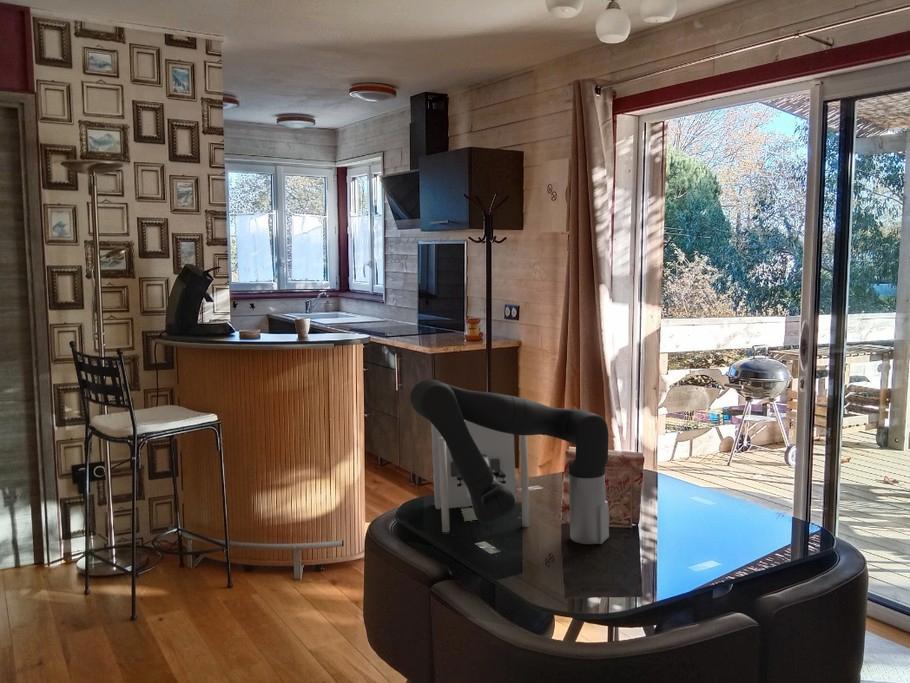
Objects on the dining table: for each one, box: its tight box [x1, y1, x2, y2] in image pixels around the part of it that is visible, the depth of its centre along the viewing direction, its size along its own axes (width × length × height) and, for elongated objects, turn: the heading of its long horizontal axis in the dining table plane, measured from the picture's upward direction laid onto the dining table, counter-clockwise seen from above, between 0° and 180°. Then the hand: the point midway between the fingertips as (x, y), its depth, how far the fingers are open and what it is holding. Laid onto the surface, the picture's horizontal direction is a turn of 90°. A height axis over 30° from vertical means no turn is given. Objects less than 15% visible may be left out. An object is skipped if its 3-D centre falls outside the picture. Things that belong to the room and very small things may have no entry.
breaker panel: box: [430, 420, 517, 510], centre depth 233 cm, size 7×24×26 cm, turn 96°
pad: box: [460, 507, 477, 522], centre depth 225 cm, size 10×10×1 cm
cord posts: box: [438, 435, 531, 533], centre depth 212 cm, size 2×24×26 cm, turn 96°
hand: (476, 471), depth 226 cm, fingers closed on can, 6 cm apart
